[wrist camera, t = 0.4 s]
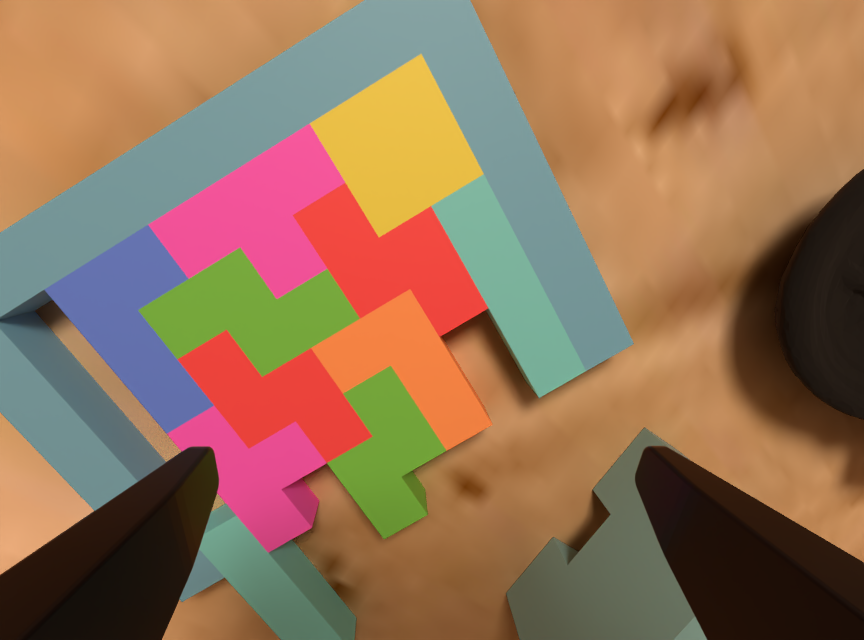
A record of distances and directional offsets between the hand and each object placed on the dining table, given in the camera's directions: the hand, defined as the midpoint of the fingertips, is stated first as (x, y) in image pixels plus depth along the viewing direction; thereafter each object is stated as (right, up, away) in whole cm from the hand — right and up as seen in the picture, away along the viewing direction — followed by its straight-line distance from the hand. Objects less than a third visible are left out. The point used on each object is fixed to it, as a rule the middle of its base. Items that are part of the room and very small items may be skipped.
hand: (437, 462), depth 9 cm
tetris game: (-5, 0, +15) cm, 16 cm away
